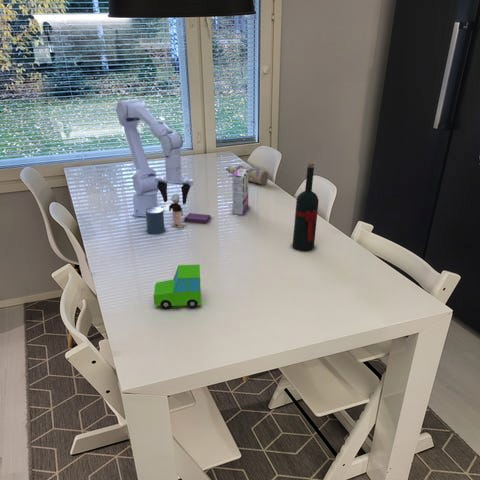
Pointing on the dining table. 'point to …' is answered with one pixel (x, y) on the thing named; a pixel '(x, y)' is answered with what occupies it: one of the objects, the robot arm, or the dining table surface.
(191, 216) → the purple box
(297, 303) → the dining table surface
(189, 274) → the toy car
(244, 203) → the candy bar box
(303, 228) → the wine bottle
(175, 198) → the grandmother figurine
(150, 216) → the tin can
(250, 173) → the decorative bottle
